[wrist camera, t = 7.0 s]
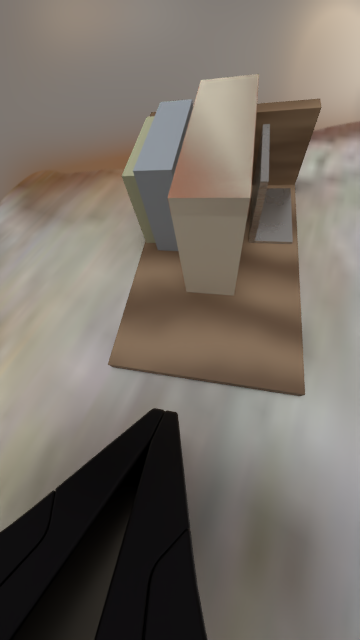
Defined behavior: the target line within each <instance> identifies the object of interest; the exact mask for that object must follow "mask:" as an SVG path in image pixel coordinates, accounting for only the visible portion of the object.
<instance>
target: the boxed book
mask: <svg viewBox="0 0 360 640" xmlns="http://www.w3.org/2000/svg"><path fill="white" fill-rule="evenodd" d="M258 80H259V74H255V75H246V76H236V77H227V78H218V79H208V80H201V81H200V85H199V88H198V92H197V96H196V99H195V103H194V106H193V110H192V113H191V117H190V120H189V124H188V127H187V131H186V134H185V138H184V141H183V145H182V149H181V152H180V156H179V159H178V163H177V166H176V170H175V173H174V177H173V180H172V184H171V187H170V191H169V194H168V203H169V208H170V213H171V216H172V221H173V226H174V231H175V236H176V241H177V246H178V251H179V256H180V261H181V266H182V271H183V276H184V281H185V286H186V291H187V292H195V293H208V294H220V295H233V296H234V292H235V286H236V280H237V274H238V268H239V262H240V256H241V250H242V244H243V238H244V232H245V226H246V220H247V216H248V210H249V204H250V198H251V185H252V170H253V155H254V140H255V126H256V111H257V96H258Z"/></svg>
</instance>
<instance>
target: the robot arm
mask: <svg viewBox="0 0 360 640" xmlns="http://www.w3.org/2000/svg"><path fill="white" fill-rule="evenodd" d="M0 640H207V635H206V630H205V624H204V619H203V613H202V608H201V602H200V597H199V592H198V586H197V578H196V571H195V564H194V556H193V548H192V539H191V531H190V522H189V513H188V504H187V495H186V485H185V476H184V467H183V458H182V449H181V440H180V430H179V421H178V414H177V412H172V411H164V410H161V409H156V408H154V409H152V410H150V411H149V412H148V413H147V414H146V415H144V416H143V417H142V418H141V419H139V420H138V421H137V422H136V423H135V424H133V425H132V426H131V427H130V428H129V429H127V430H126V431H125V432H124V433H122V434H121V435H120V436H119V437H118V438H116V439H115V440H114V441H113V442H112V443H110V444H109V445H108V446H107V447H105V448H104V449H103V450H102V451H101V452H99V453H98V454H97V455H96V456H95V457H93V458H92V459H91V460H90V461H89V462H87V463H86V464H85V465H84V466H82V467H81V468H80V469H79V470H78V471H76V472H75V473H74V474H73V475H72V476H70V477H69V478H68V479H67V480H65V481H64V482H63V483H62V484H61V485H59V486H58V487H57V488H56V491H52V492H51V493H49V494H48V495H47V496H46V497H45V498H43V499H42V500H41V501H40V502H39V503H37V504H36V505H35V506H34V507H32V508H31V509H30V510H28V511H27V512H26V513H25V514H23V515H22V516H21V517H20V518H18V519H17V520H16V521H15V522H13V523H12V524H11V525H9V526H8V527H7V528H5V529H4V530H3V531H1V532H0Z"/></svg>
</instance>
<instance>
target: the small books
mask: <svg viewBox="0 0 360 640" xmlns="http://www.w3.org/2000/svg"><path fill="white" fill-rule="evenodd" d="M192 110H193V103H192V99H190V100H180V101H168V102H160V105H159V107H158V109H157V112H156V114H155V116H152V117H147V118H146V120H145V123H144V125H143V128H142V130H141V132H140V134H139V137H138V139H137V141H136V144H135V147H134V148H133V151H132V153H131V156H130V158H129V160H128V163H127V165H126V167H125V170H124V172H123V174H122V178H123V181H124V184H125V186H126V189H127V192H128V194H129V197H130V200H131V203H132V205H133V208H134V211H135V213H136V216H137V219H138V222H139V224H140V227H141V230H142V232H143V235H144V238H145V241H146V243H156V245H157V249H158V250H165V251H178V246H177V241H176V236H175V231H174V226H173V221H172V216H171V213H170V208H169V203H168V194H169V191H170V187H171V184H172V180H173V177H174V173H175V170H176V166H177V163H178V159H179V156H180V152H181V149H182V145H183V141H184V138H185V134H186V131H187V127H188V124H189V120H190V117H191V113H192Z"/></svg>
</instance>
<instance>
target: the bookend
mask: <svg viewBox="0 0 360 640" xmlns="http://www.w3.org/2000/svg"><path fill="white" fill-rule="evenodd" d="M269 143H270V124H263V127H262V133H261V139H260V145H259V151H258V157H257V163H256V169H255V175H254V181H253V187H252V195H251V211H250V226H249V241H248V243H271V244H292V242H293V238H292V211H291V188H267V187H268V182H269Z"/></svg>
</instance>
